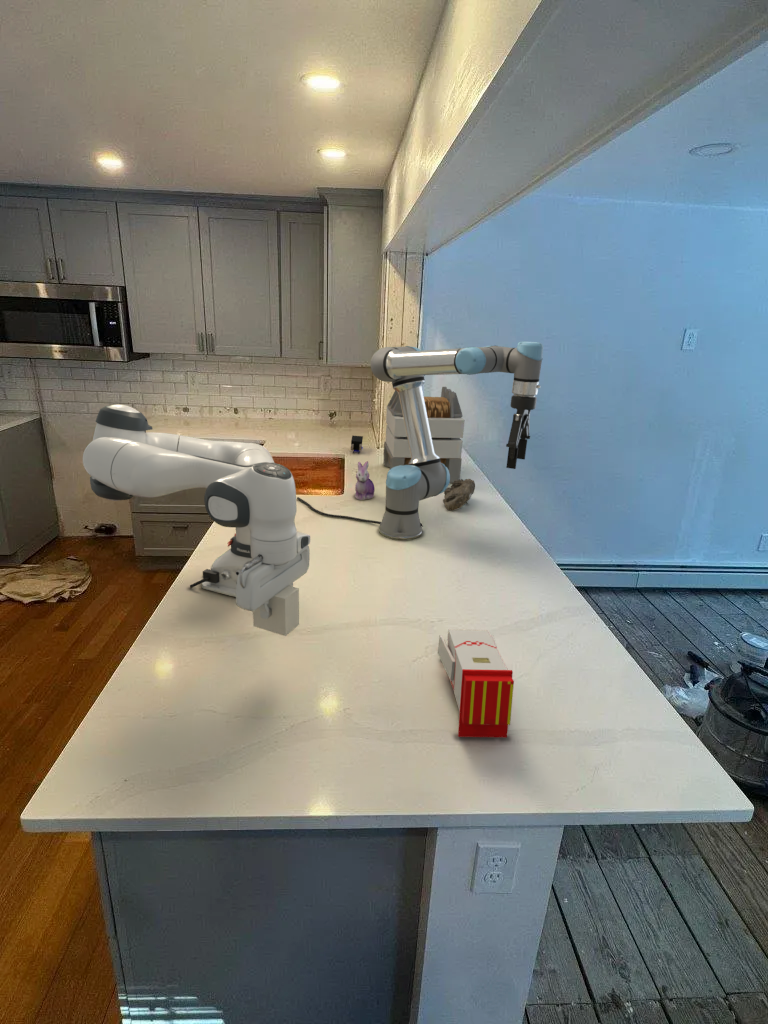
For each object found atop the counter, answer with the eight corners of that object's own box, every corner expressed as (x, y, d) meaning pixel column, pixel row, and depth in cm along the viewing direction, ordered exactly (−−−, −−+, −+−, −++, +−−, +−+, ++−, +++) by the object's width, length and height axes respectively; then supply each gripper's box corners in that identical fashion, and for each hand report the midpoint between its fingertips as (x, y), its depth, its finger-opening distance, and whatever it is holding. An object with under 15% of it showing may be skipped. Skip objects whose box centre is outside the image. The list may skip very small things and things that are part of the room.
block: (285, 636, 112) (284, 598, 109) (253, 626, 115) (251, 589, 112) (299, 624, 116) (298, 588, 113) (267, 615, 119) (266, 579, 116)
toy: (488, 613, 130) (523, 677, 101) (484, 667, 133) (517, 744, 104) (435, 612, 130) (455, 676, 101) (432, 666, 133) (451, 743, 103)
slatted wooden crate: (382, 463, 289) (386, 382, 275) (445, 464, 293) (451, 384, 279) (390, 482, 257) (394, 392, 243) (460, 483, 261) (468, 394, 247)
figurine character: (362, 457, 305) (363, 447, 318) (362, 443, 301) (363, 434, 315) (350, 456, 304) (351, 447, 318) (350, 443, 301) (351, 434, 314)
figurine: (359, 501, 230) (360, 466, 225) (349, 494, 239) (349, 459, 234) (379, 499, 235) (381, 464, 230) (369, 491, 243) (370, 458, 238)
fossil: (439, 484, 243) (468, 465, 238) (451, 501, 246) (481, 483, 241) (438, 506, 224) (470, 486, 219) (452, 524, 226) (484, 505, 221)
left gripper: (254, 570, 99) (257, 638, 104) (315, 533, 117) (314, 592, 122) (225, 563, 102) (229, 630, 107) (289, 527, 119) (290, 586, 124)
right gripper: (528, 401, 159) (519, 474, 166) (544, 391, 180) (535, 456, 188) (502, 398, 162) (494, 470, 169) (520, 389, 183) (512, 453, 191)
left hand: (275, 609), depth 114 cm, fingers closed on block, 5 cm apart
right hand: (515, 463), depth 178 cm, fingers open, 13 cm apart
